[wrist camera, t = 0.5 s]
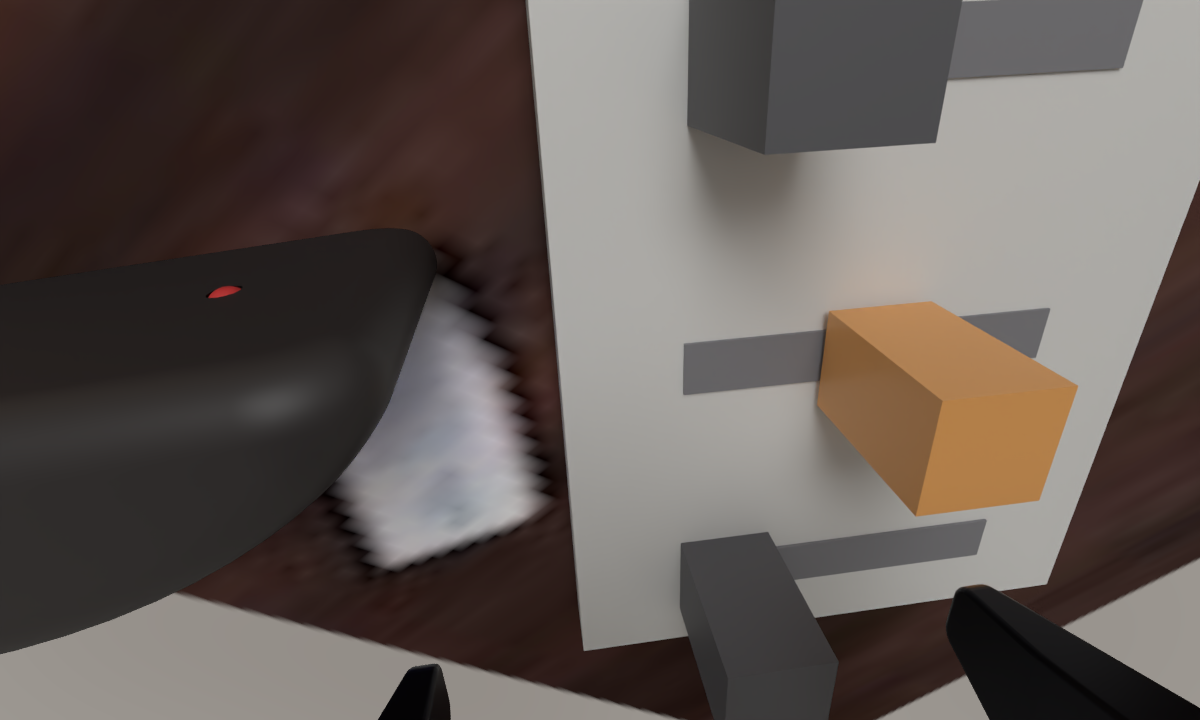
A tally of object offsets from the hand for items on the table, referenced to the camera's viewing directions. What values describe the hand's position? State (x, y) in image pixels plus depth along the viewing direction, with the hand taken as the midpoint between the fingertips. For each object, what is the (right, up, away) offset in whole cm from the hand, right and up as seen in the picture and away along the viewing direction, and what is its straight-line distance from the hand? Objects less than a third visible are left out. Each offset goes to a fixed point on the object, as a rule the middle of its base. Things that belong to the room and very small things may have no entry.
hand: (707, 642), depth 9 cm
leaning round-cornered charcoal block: (-14, +6, +8) cm, 17 cm away
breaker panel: (+6, +5, +11) cm, 13 cm away
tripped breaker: (+6, +4, +9) cm, 12 cm away
